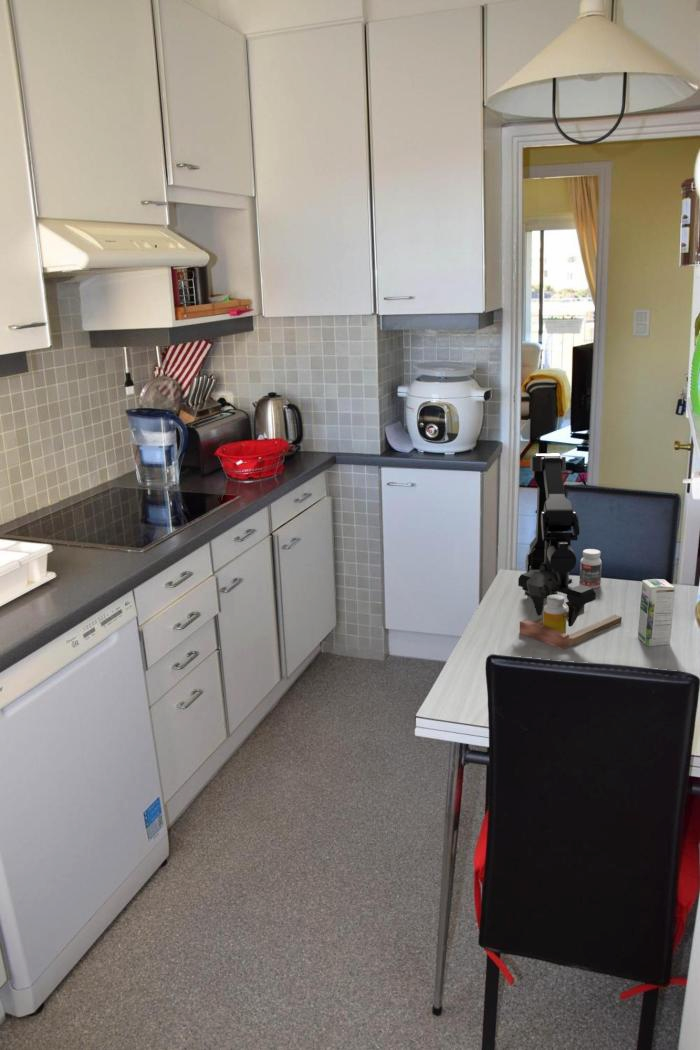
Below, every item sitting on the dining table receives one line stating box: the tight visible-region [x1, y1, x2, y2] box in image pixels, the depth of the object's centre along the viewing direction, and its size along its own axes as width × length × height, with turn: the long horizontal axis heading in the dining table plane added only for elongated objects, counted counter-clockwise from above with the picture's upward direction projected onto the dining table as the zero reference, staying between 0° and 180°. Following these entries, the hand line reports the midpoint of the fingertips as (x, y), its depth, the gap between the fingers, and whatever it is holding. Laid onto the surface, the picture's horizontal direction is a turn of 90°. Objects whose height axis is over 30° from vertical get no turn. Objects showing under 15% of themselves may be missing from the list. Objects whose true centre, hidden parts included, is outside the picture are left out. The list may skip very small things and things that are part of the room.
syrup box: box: [637, 578, 676, 647], centre depth 196 cm, size 6×6×14 cm
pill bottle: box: [578, 548, 603, 589], centre depth 234 cm, size 6×6×10 cm
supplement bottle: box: [542, 594, 567, 634], centre depth 202 cm, size 5×5×10 cm
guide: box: [519, 605, 623, 650], centre depth 207 cm, size 13×23×3 cm, turn 129°
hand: (554, 620), depth 203 cm, fingers open, 9 cm apart
